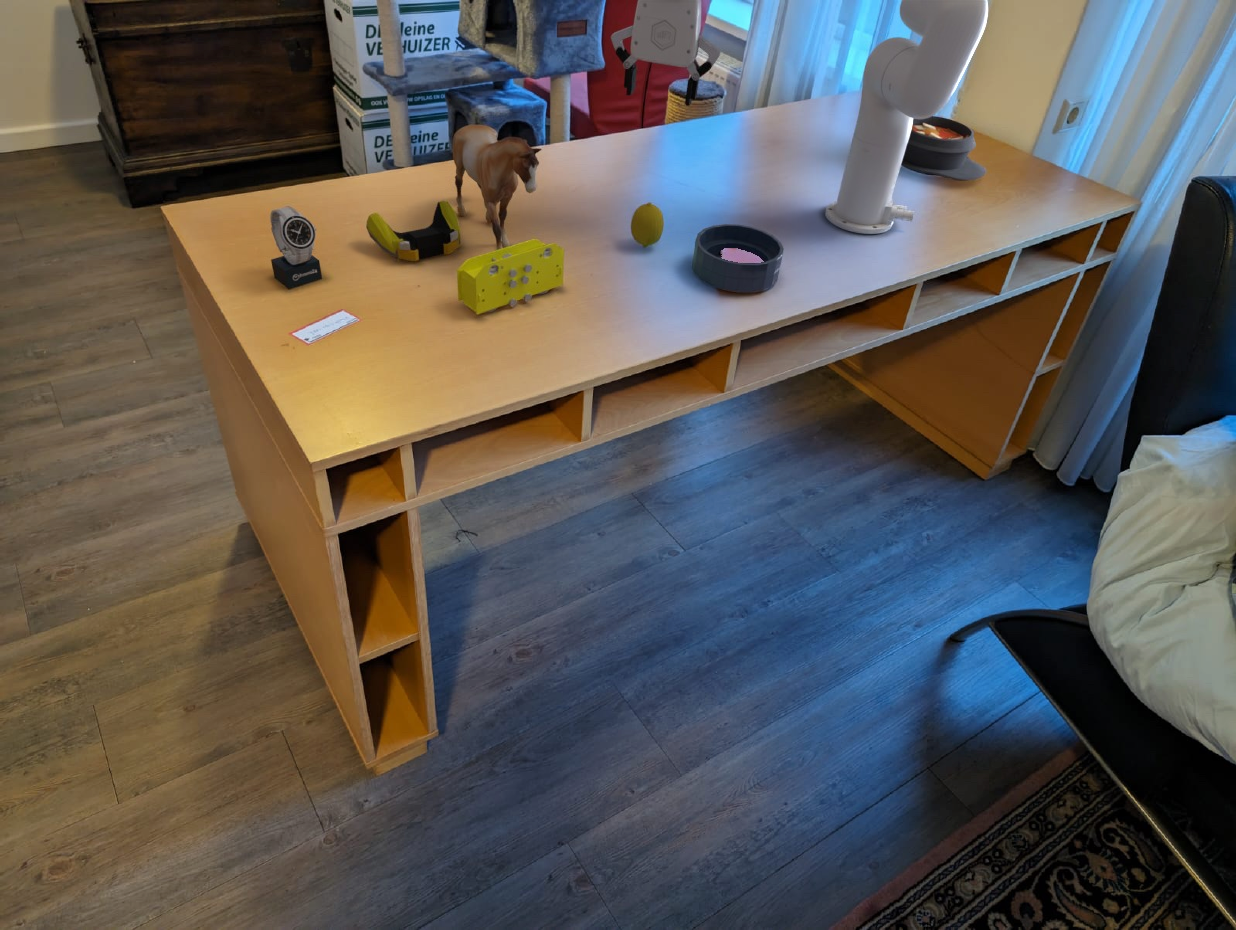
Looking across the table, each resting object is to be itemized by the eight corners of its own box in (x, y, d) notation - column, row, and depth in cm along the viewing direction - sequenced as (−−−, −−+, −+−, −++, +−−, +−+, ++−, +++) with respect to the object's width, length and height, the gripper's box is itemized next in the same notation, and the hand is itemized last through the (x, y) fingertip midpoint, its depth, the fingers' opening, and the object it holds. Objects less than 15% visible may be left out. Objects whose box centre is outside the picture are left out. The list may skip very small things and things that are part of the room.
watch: (295, 295, 130) (282, 225, 123) (268, 273, 134) (255, 205, 127) (329, 283, 133) (318, 215, 126) (302, 263, 137) (290, 196, 130)
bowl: (780, 262, 150) (786, 232, 146) (772, 302, 139) (779, 271, 136) (698, 248, 152) (703, 218, 148) (685, 286, 141) (689, 255, 137)
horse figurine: (541, 275, 140) (543, 147, 127) (494, 282, 137) (491, 152, 124) (484, 195, 161) (481, 79, 148) (443, 199, 158) (436, 81, 145)
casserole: (999, 176, 188) (1013, 137, 182) (954, 196, 178) (967, 155, 172) (901, 139, 201) (911, 101, 196) (853, 155, 191) (863, 116, 185)
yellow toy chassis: (478, 320, 128) (477, 269, 123) (457, 304, 131) (454, 253, 126) (564, 290, 137) (566, 241, 132) (542, 275, 140) (543, 227, 135)
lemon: (648, 258, 147) (653, 213, 142) (622, 247, 150) (626, 202, 145) (667, 247, 151) (672, 203, 146) (641, 236, 153) (646, 192, 148)
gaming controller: (365, 243, 144) (388, 270, 138) (361, 211, 140) (384, 237, 134) (450, 227, 150) (475, 252, 144) (448, 196, 147) (474, 220, 141)
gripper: (610, -25, 128) (601, 96, 139) (726, -6, 126) (708, 114, 137) (622, -34, 134) (613, 82, 145) (733, -17, 132) (715, 100, 143)
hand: (659, 98), depth 141 cm, fingers open, 9 cm apart
